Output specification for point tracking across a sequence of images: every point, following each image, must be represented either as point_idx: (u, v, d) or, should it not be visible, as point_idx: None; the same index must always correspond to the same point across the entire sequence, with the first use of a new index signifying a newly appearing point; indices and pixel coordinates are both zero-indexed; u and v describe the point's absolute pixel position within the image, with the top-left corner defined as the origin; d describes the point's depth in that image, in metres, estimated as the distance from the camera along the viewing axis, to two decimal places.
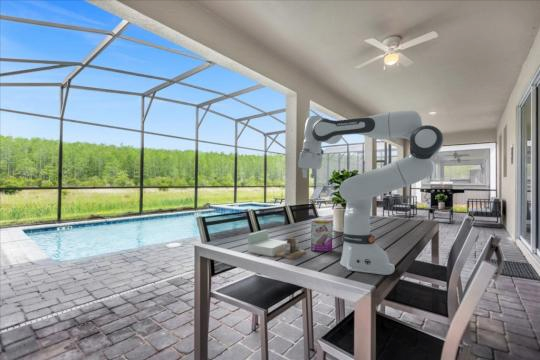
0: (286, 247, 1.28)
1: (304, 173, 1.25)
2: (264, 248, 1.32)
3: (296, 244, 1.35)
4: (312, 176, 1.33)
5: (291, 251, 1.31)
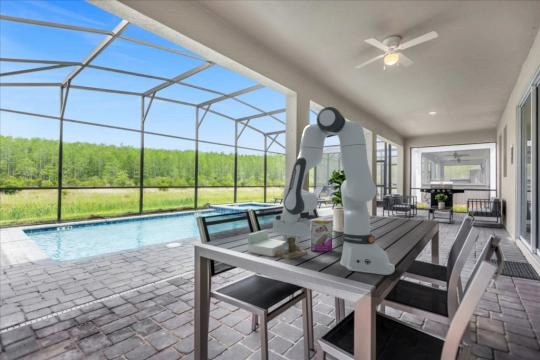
0: (284, 246, 1.29)
1: (297, 241, 1.31)
2: (264, 248, 1.32)
3: None
4: None
5: (290, 251, 1.31)
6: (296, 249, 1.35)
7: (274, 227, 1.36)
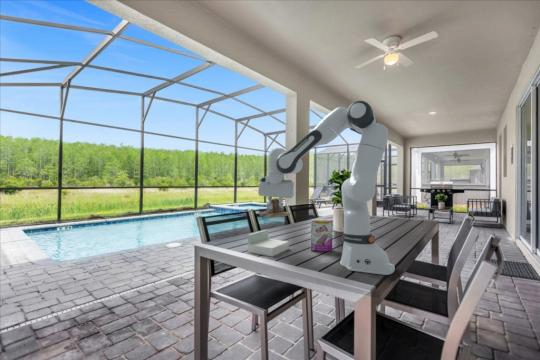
0: (268, 206, 1.34)
1: (280, 202, 1.37)
2: (264, 248, 1.32)
3: (281, 206, 1.40)
4: None
5: (274, 211, 1.37)
6: (280, 210, 1.40)
7: (259, 190, 1.41)
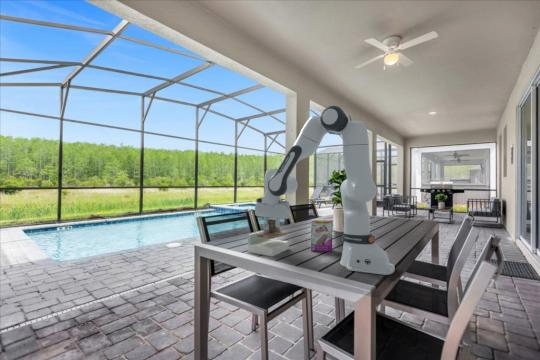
0: (265, 227, 1.35)
1: (277, 222, 1.37)
2: (264, 248, 1.32)
3: (277, 226, 1.41)
4: None
5: (271, 231, 1.37)
6: (276, 230, 1.41)
7: (256, 210, 1.42)
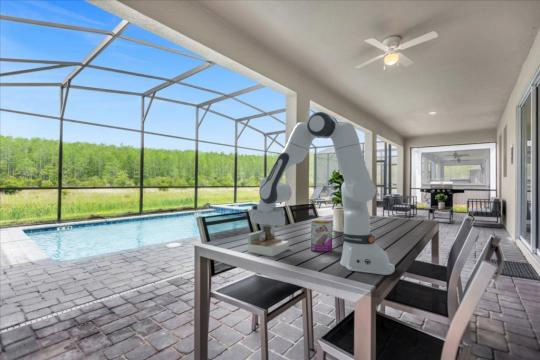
0: (261, 235, 1.36)
1: (272, 229, 1.39)
2: (264, 248, 1.32)
3: None
4: None
5: (267, 239, 1.39)
6: (271, 237, 1.43)
7: (252, 217, 1.44)
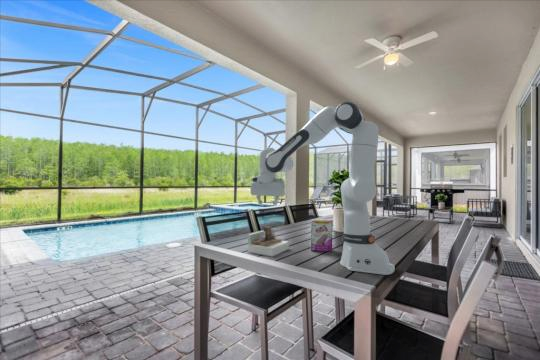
0: (261, 235, 1.36)
1: (276, 201, 1.38)
2: (264, 248, 1.32)
3: (272, 232, 1.43)
4: (261, 202, 1.43)
5: (267, 239, 1.39)
6: (271, 237, 1.43)
7: (252, 189, 1.44)
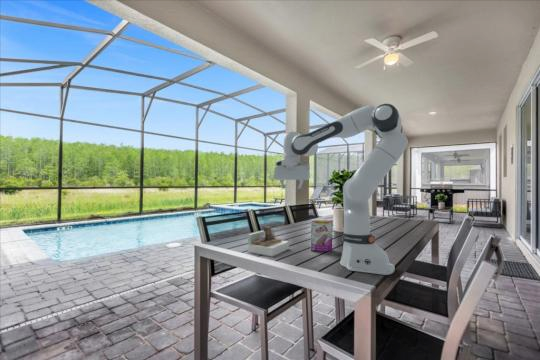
0: (261, 235, 1.36)
1: (301, 184, 1.38)
2: (264, 248, 1.32)
3: (272, 232, 1.43)
4: (285, 186, 1.44)
5: (267, 239, 1.39)
6: (271, 237, 1.43)
7: (275, 173, 1.45)
